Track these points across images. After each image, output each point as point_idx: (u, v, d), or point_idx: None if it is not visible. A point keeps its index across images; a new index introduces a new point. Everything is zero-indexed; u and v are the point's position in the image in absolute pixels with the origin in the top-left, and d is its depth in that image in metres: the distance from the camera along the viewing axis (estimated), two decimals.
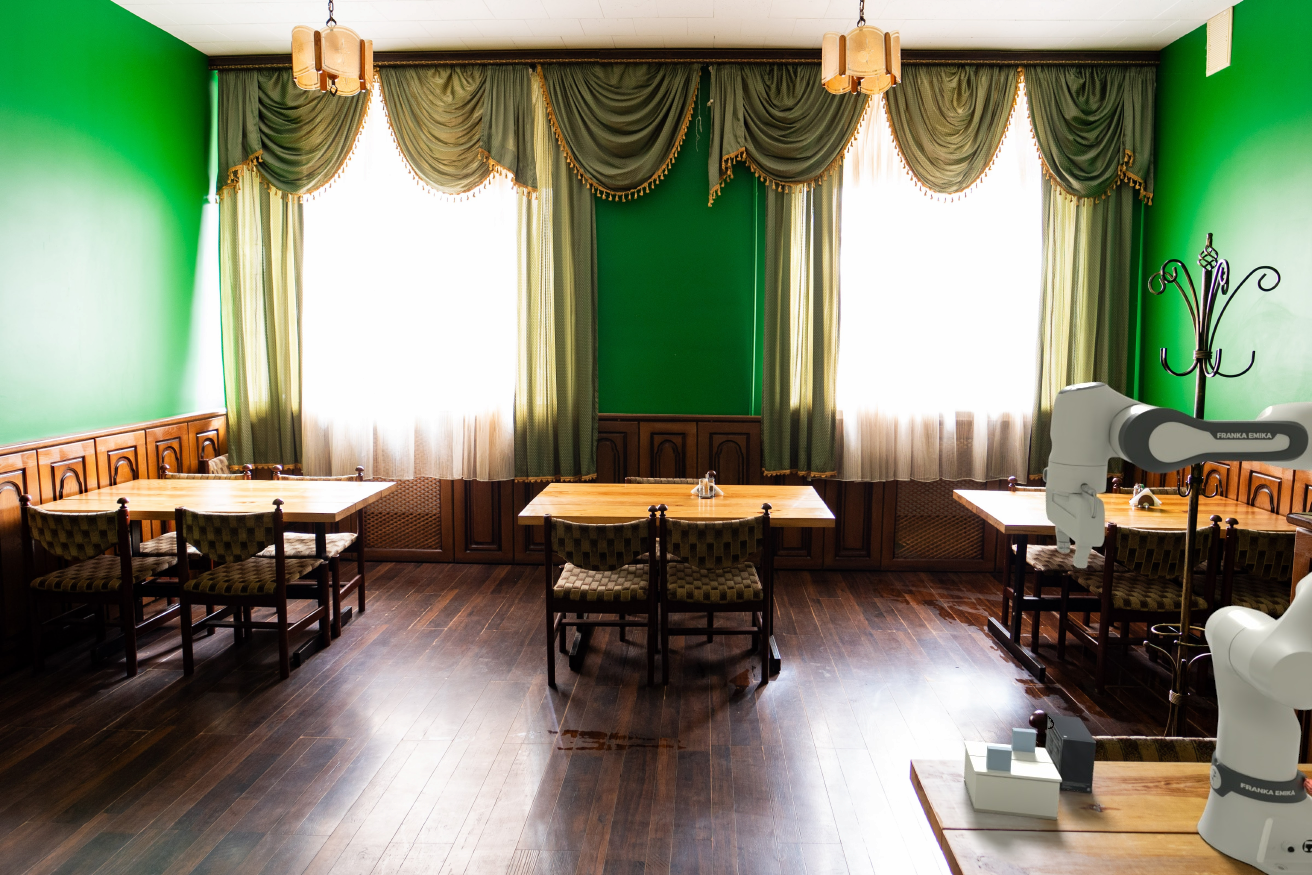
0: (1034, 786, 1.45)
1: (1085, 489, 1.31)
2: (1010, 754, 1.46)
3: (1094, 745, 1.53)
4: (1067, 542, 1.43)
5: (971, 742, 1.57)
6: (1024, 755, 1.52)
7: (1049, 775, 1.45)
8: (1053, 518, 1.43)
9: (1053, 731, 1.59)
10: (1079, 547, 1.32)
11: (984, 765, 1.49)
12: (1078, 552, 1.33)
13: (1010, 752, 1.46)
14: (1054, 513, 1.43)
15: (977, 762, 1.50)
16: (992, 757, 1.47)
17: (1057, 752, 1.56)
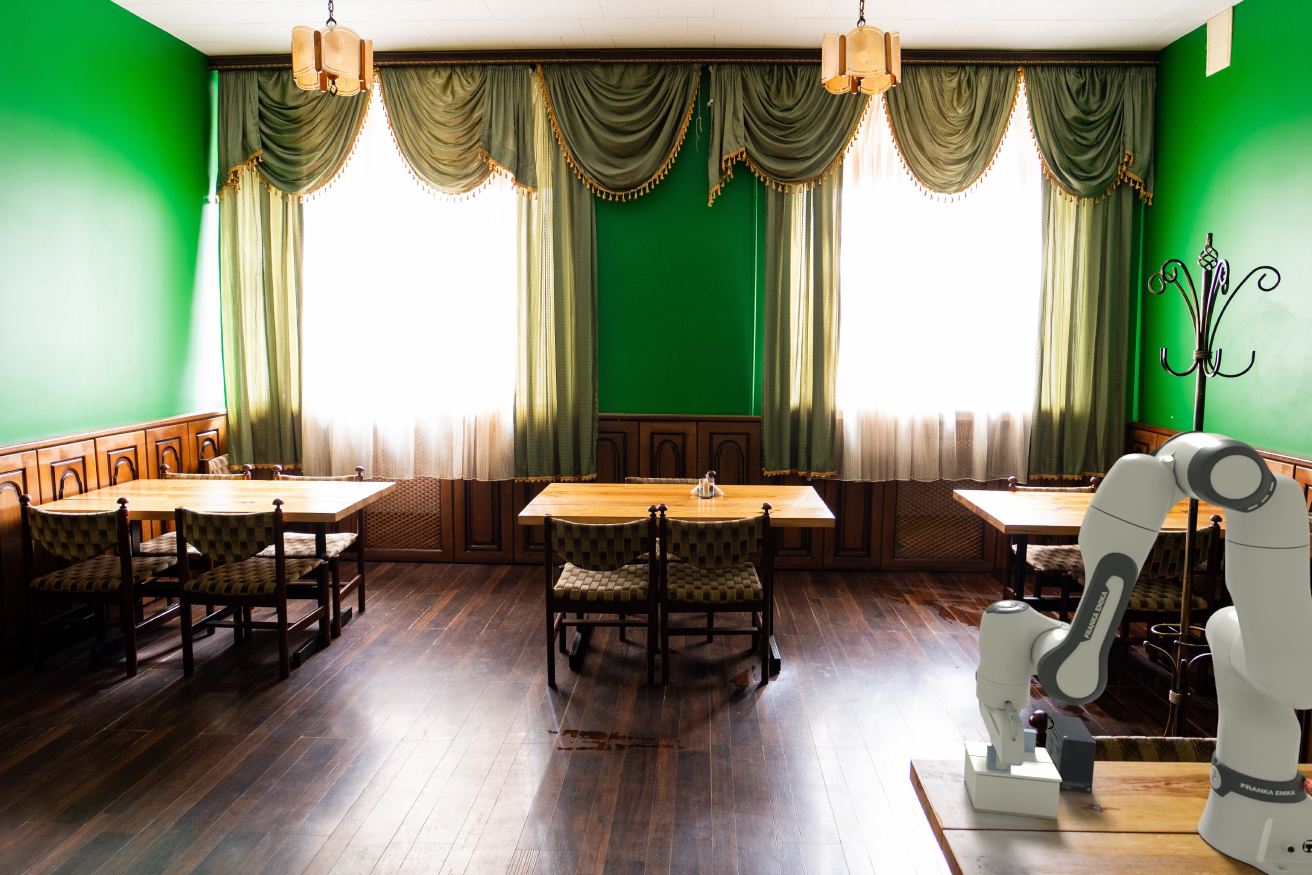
0: (1034, 786, 1.45)
1: (1007, 709, 1.40)
2: None
3: (1094, 745, 1.53)
4: None
5: (971, 742, 1.57)
6: (1024, 755, 1.52)
7: (1049, 775, 1.45)
8: (984, 718, 1.52)
9: (1053, 731, 1.59)
10: None
11: (984, 765, 1.49)
12: (998, 755, 1.45)
13: None
14: (985, 714, 1.52)
15: (977, 762, 1.50)
16: (992, 757, 1.47)
17: (1057, 752, 1.56)
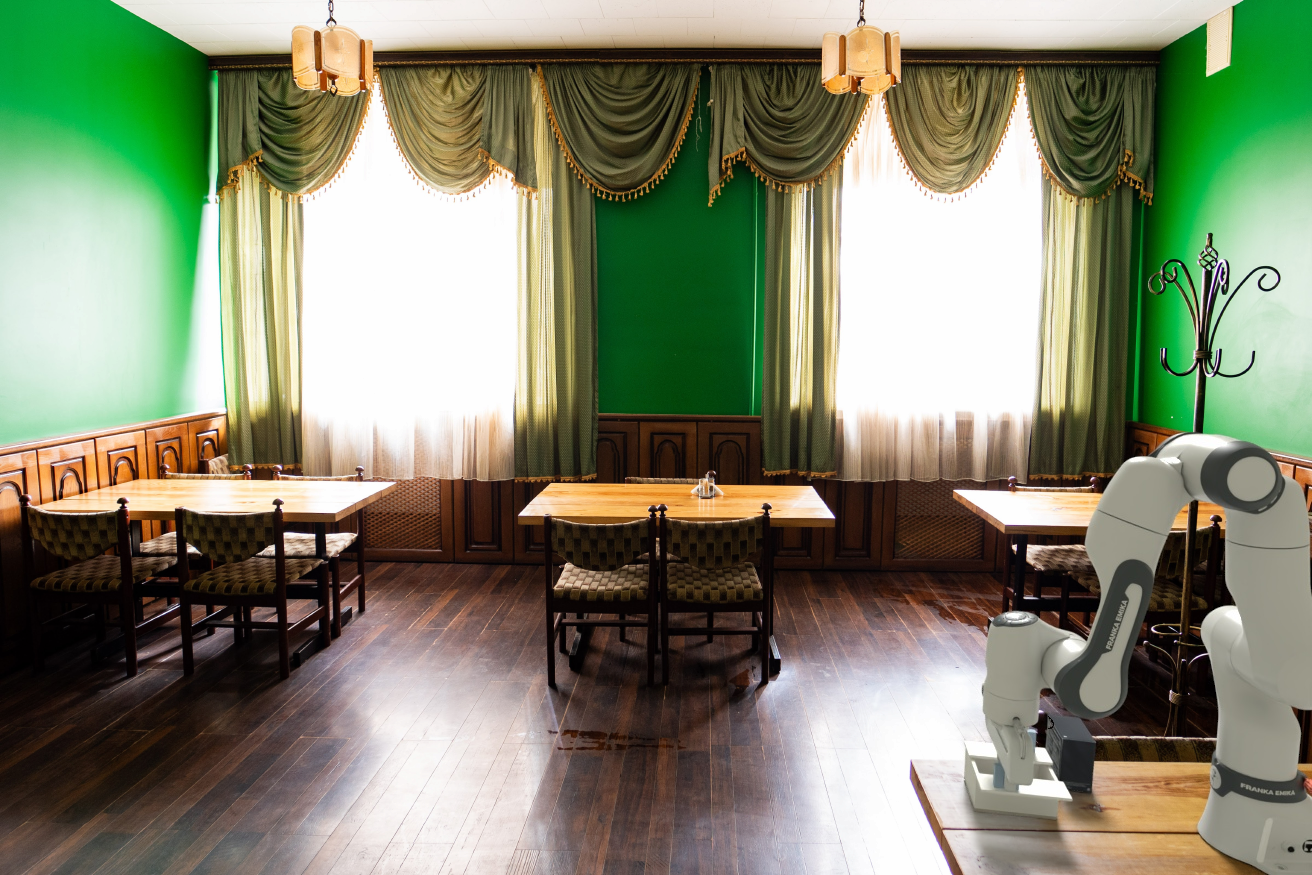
0: None
1: (1016, 726, 1.34)
2: None
3: (1094, 745, 1.53)
4: None
5: (971, 742, 1.57)
6: None
7: (1059, 794, 1.40)
8: (990, 734, 1.46)
9: (1053, 731, 1.59)
10: None
11: (991, 783, 1.43)
12: (1007, 777, 1.38)
13: None
14: (991, 730, 1.46)
15: (983, 780, 1.44)
16: (999, 775, 1.41)
17: (1057, 752, 1.56)
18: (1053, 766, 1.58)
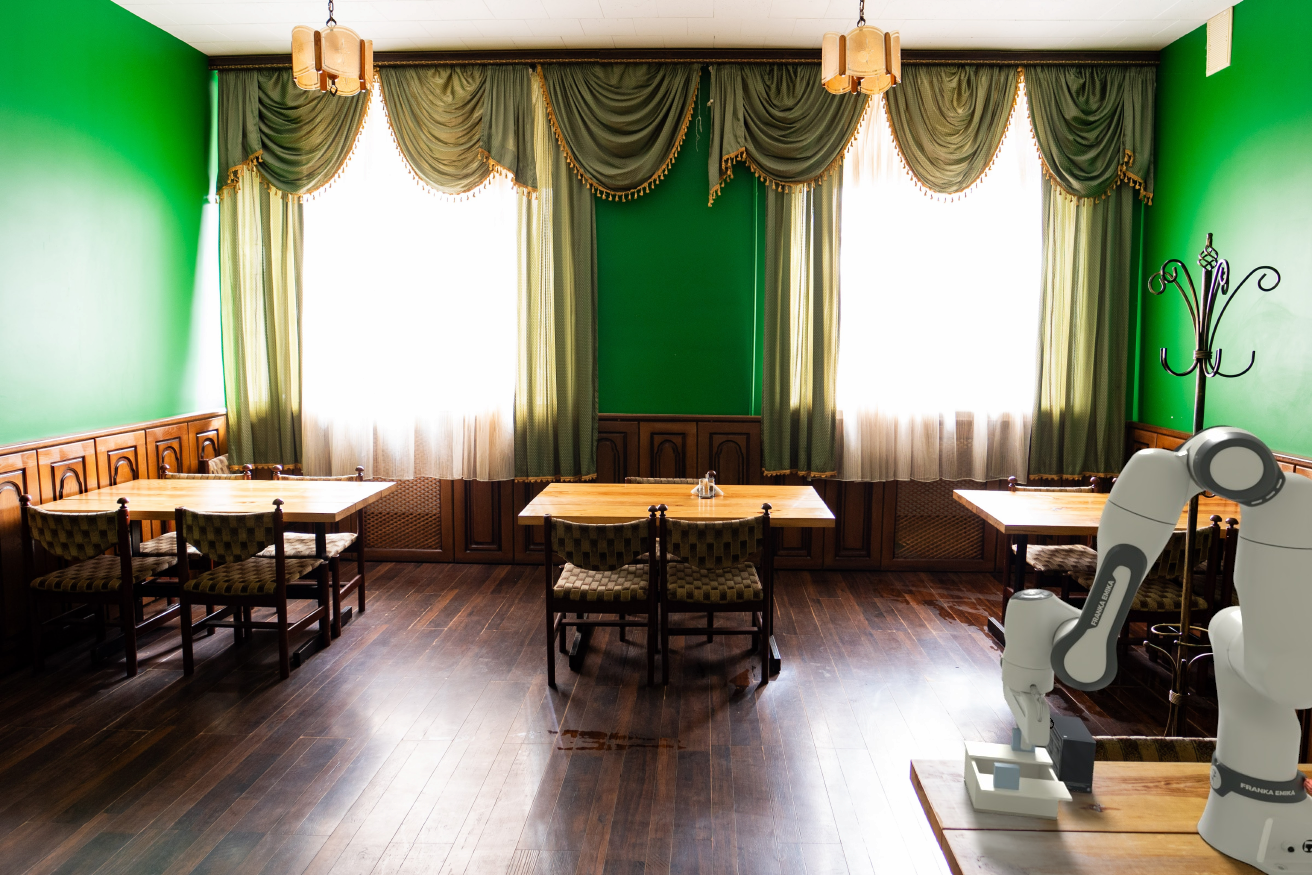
0: None
1: (1033, 692, 1.46)
2: (1018, 772, 1.40)
3: (1094, 745, 1.53)
4: None
5: (971, 742, 1.57)
6: (1024, 755, 1.52)
7: (1059, 794, 1.40)
8: (1008, 702, 1.59)
9: (1053, 731, 1.59)
10: None
11: (991, 783, 1.43)
12: (1023, 737, 1.51)
13: (1018, 770, 1.40)
14: (1009, 698, 1.58)
15: (983, 780, 1.44)
16: (999, 775, 1.41)
17: (1057, 752, 1.56)
18: (1053, 766, 1.58)
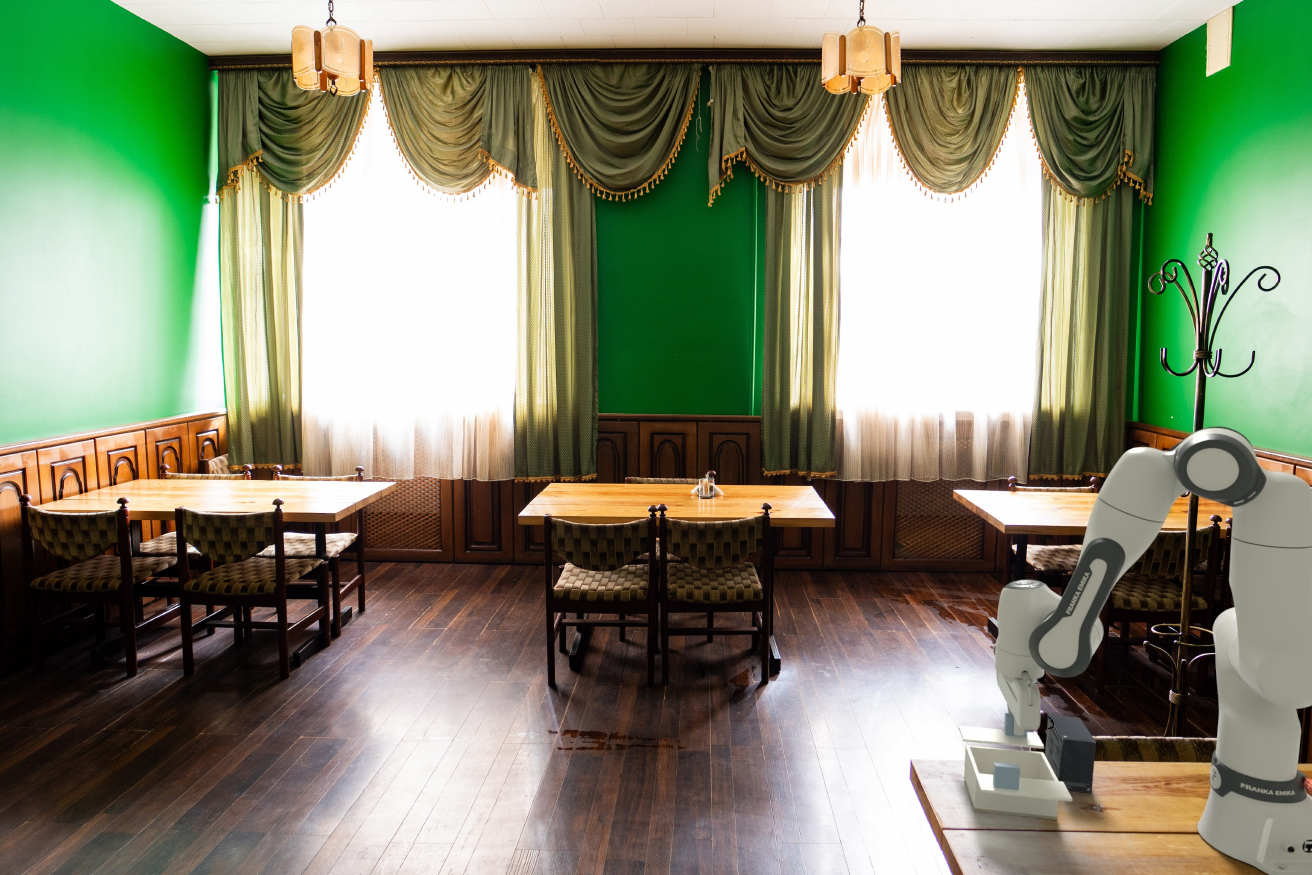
0: None
1: (1025, 678, 1.52)
2: (1018, 772, 1.40)
3: (1094, 745, 1.53)
4: None
5: (966, 727, 1.63)
6: (1016, 739, 1.58)
7: (1059, 794, 1.40)
8: (1001, 689, 1.65)
9: (1053, 731, 1.59)
10: None
11: (991, 783, 1.43)
12: (1016, 723, 1.57)
13: (1018, 770, 1.40)
14: (1002, 685, 1.64)
15: (983, 780, 1.44)
16: (999, 775, 1.41)
17: (1057, 752, 1.56)
18: (1053, 766, 1.58)
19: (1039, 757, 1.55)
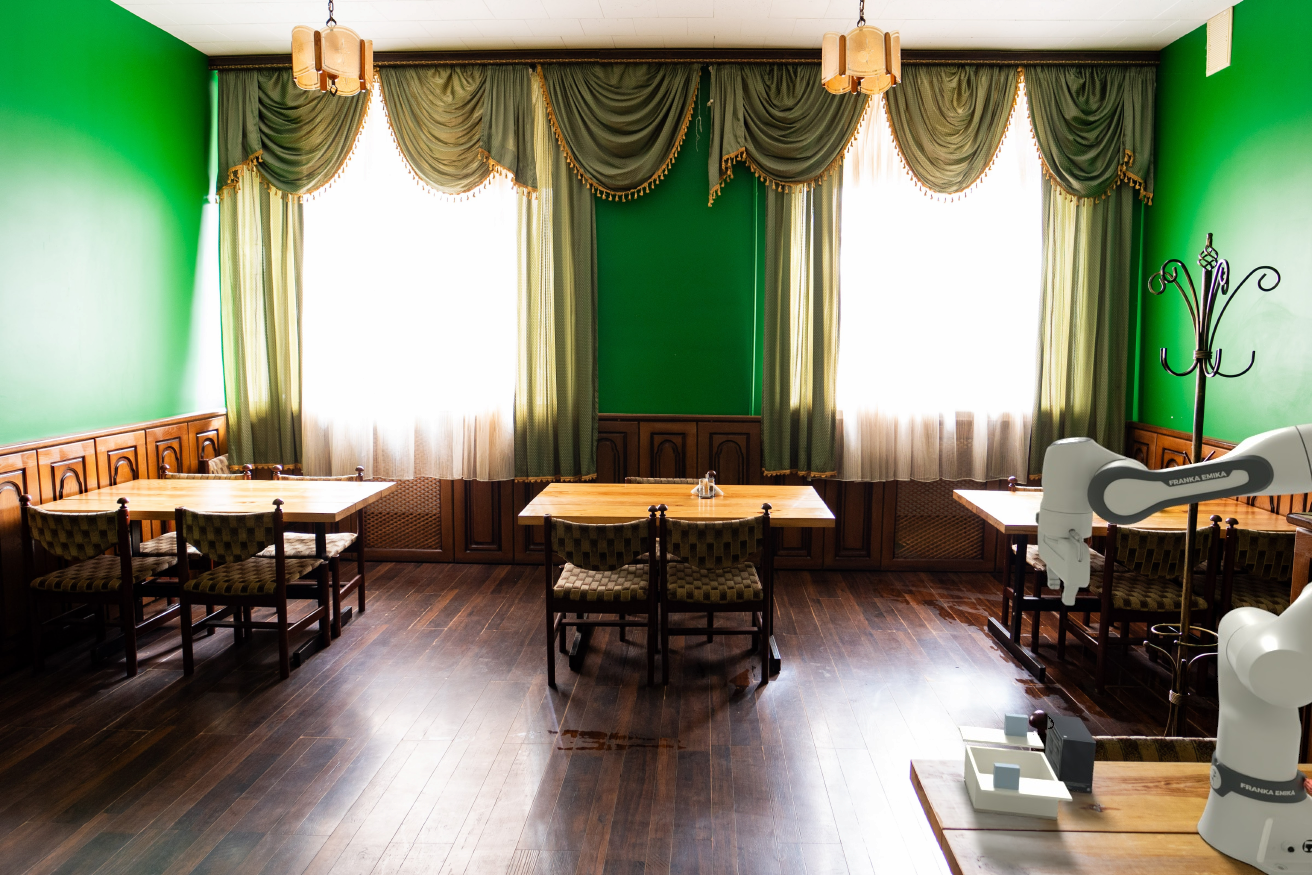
0: None
1: (1072, 535, 1.45)
2: (1018, 772, 1.40)
3: (1094, 745, 1.53)
4: (1057, 579, 1.57)
5: (966, 727, 1.63)
6: (1016, 739, 1.58)
7: (1059, 794, 1.40)
8: (1044, 557, 1.58)
9: (1053, 731, 1.59)
10: (1067, 587, 1.47)
11: (991, 783, 1.43)
12: (1066, 591, 1.47)
13: (1018, 770, 1.40)
14: (1045, 553, 1.57)
15: (983, 780, 1.44)
16: (999, 775, 1.41)
17: (1057, 752, 1.56)
18: (1053, 766, 1.58)
19: (1039, 757, 1.55)
